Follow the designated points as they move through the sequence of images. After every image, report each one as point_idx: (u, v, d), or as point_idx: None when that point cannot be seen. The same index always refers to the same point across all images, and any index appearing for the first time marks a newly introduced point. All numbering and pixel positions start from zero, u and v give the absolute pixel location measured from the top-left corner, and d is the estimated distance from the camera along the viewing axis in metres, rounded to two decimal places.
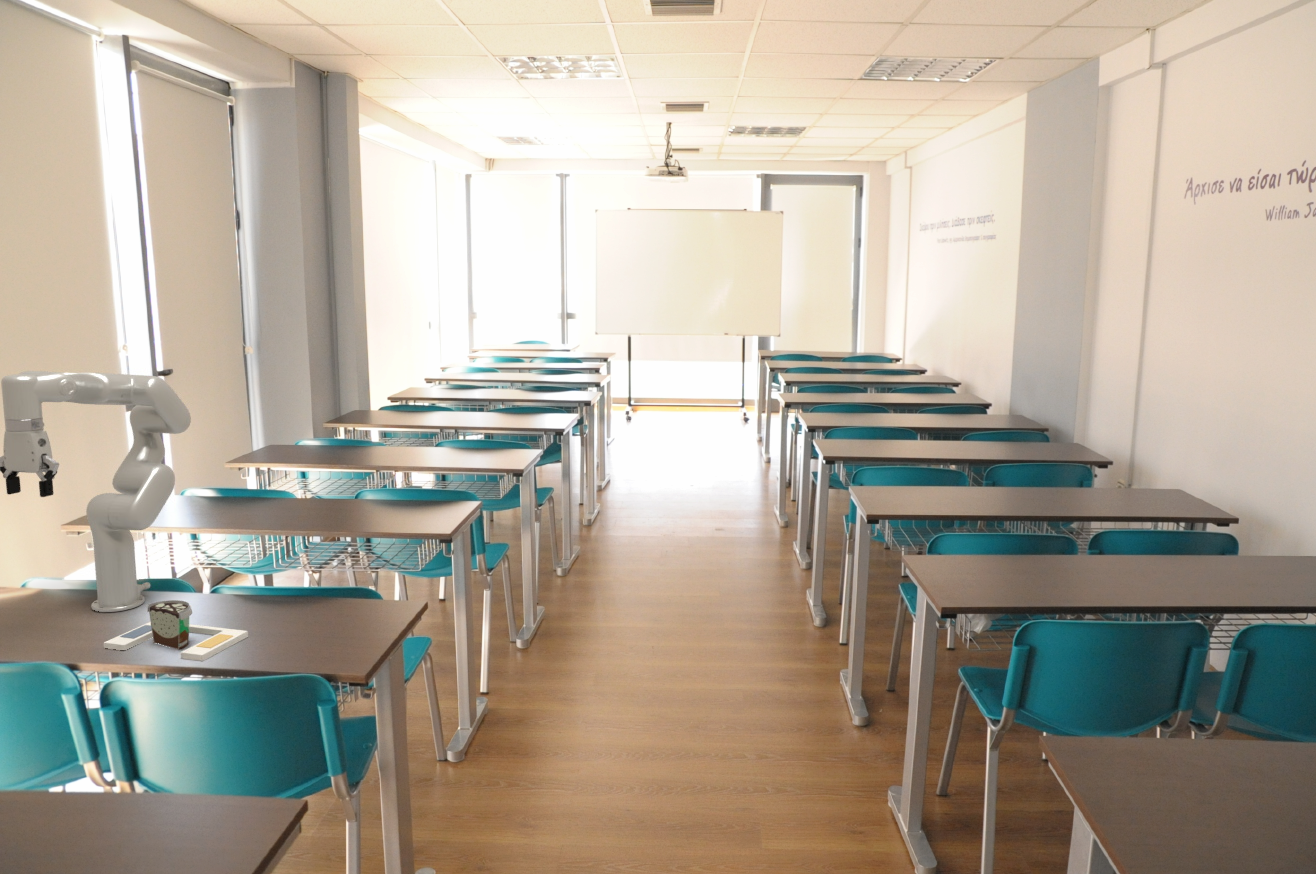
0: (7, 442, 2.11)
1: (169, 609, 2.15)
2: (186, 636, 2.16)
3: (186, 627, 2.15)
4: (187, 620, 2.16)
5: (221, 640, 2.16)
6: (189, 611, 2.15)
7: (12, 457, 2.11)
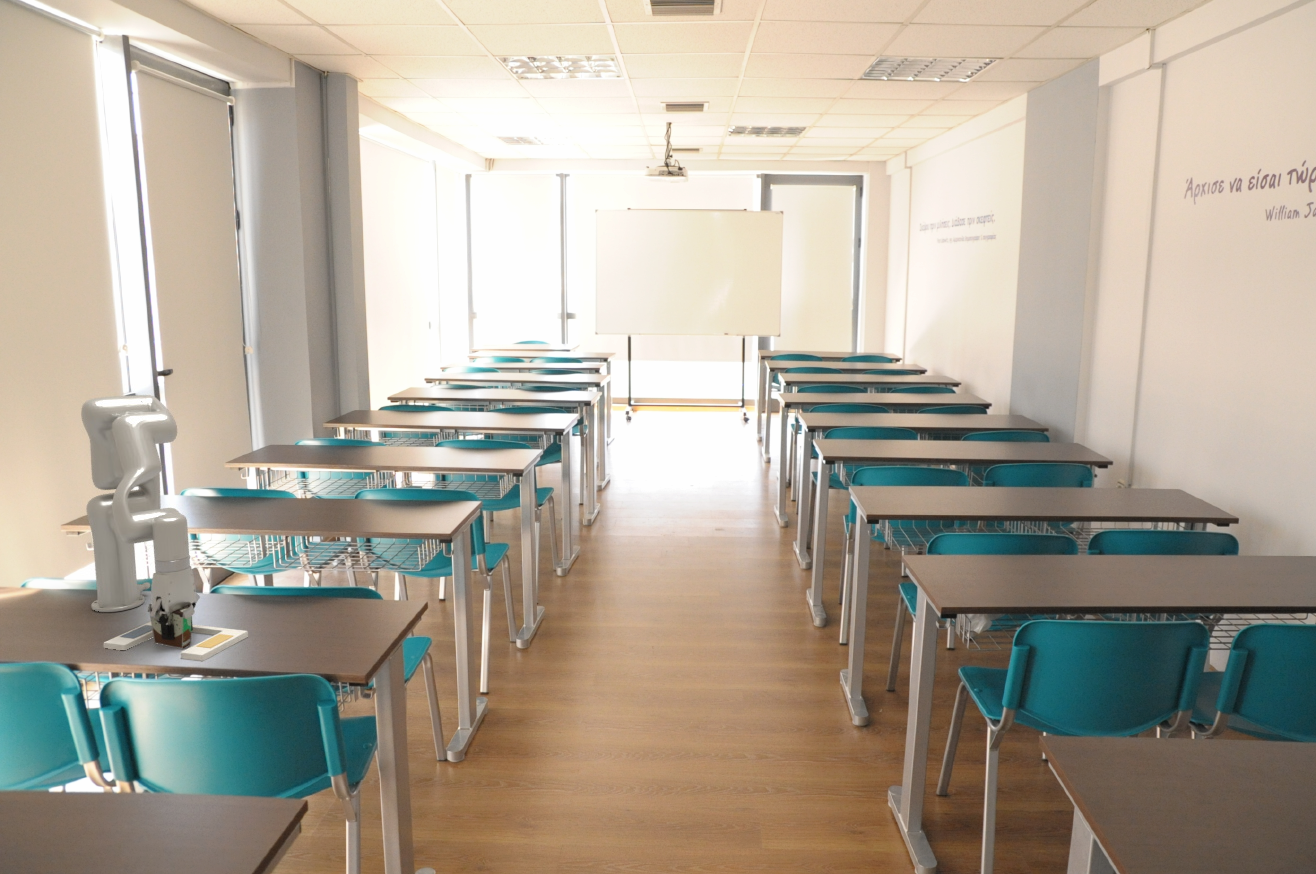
0: (172, 583, 2.13)
1: None
2: (189, 635, 2.17)
3: (189, 626, 2.16)
4: (190, 619, 2.16)
5: (221, 640, 2.16)
6: (192, 610, 2.16)
7: (178, 597, 2.14)
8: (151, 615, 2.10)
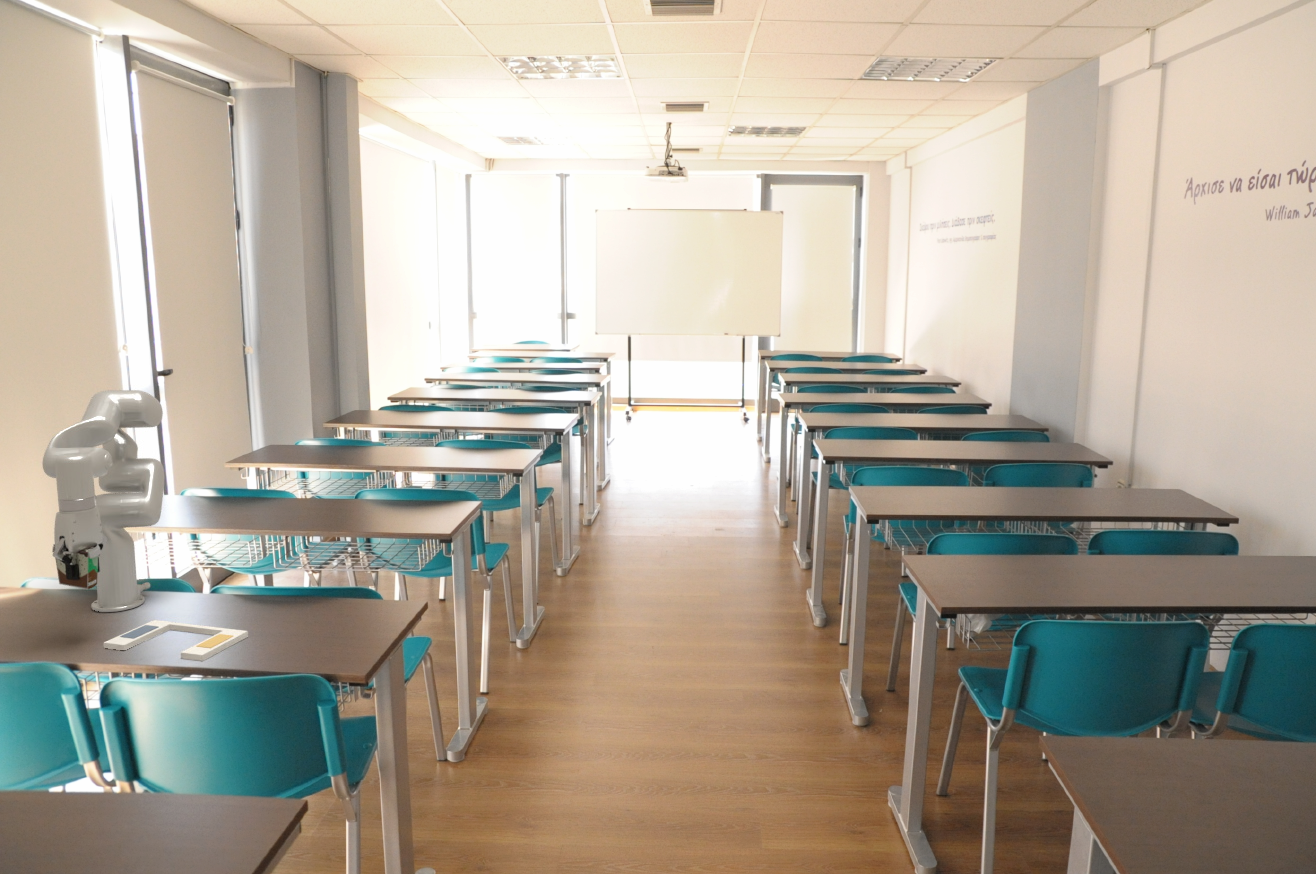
0: (76, 523, 2.10)
1: None
2: (95, 575, 2.14)
3: (95, 566, 2.14)
4: (96, 559, 2.14)
5: (221, 640, 2.16)
6: (98, 550, 2.14)
7: (83, 537, 2.12)
8: (53, 554, 2.07)
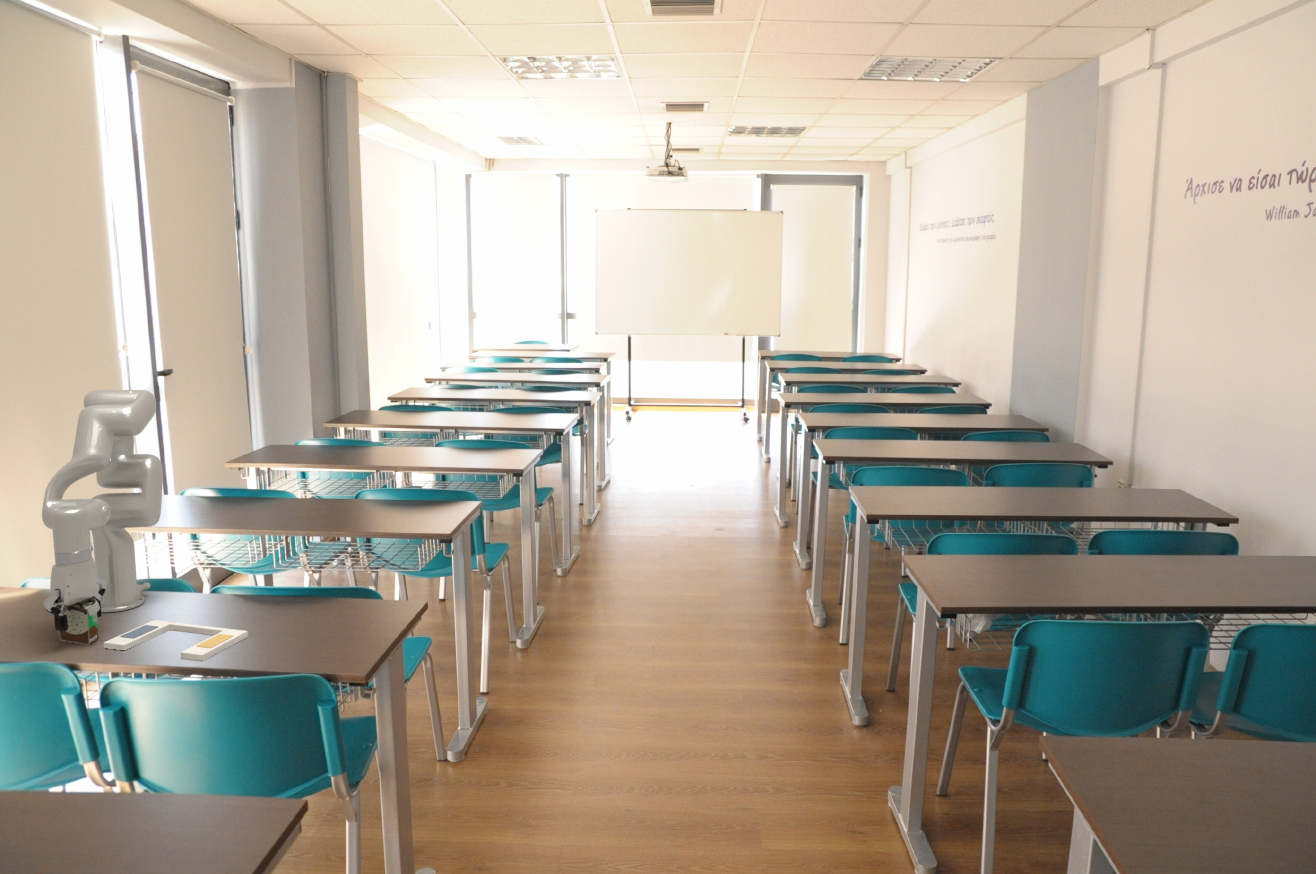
0: (72, 576, 2.12)
1: (75, 606, 2.16)
2: (95, 631, 2.17)
3: (95, 622, 2.17)
4: (95, 615, 2.17)
5: (221, 640, 2.16)
6: (97, 606, 2.16)
7: (78, 589, 2.14)
8: (44, 602, 2.08)
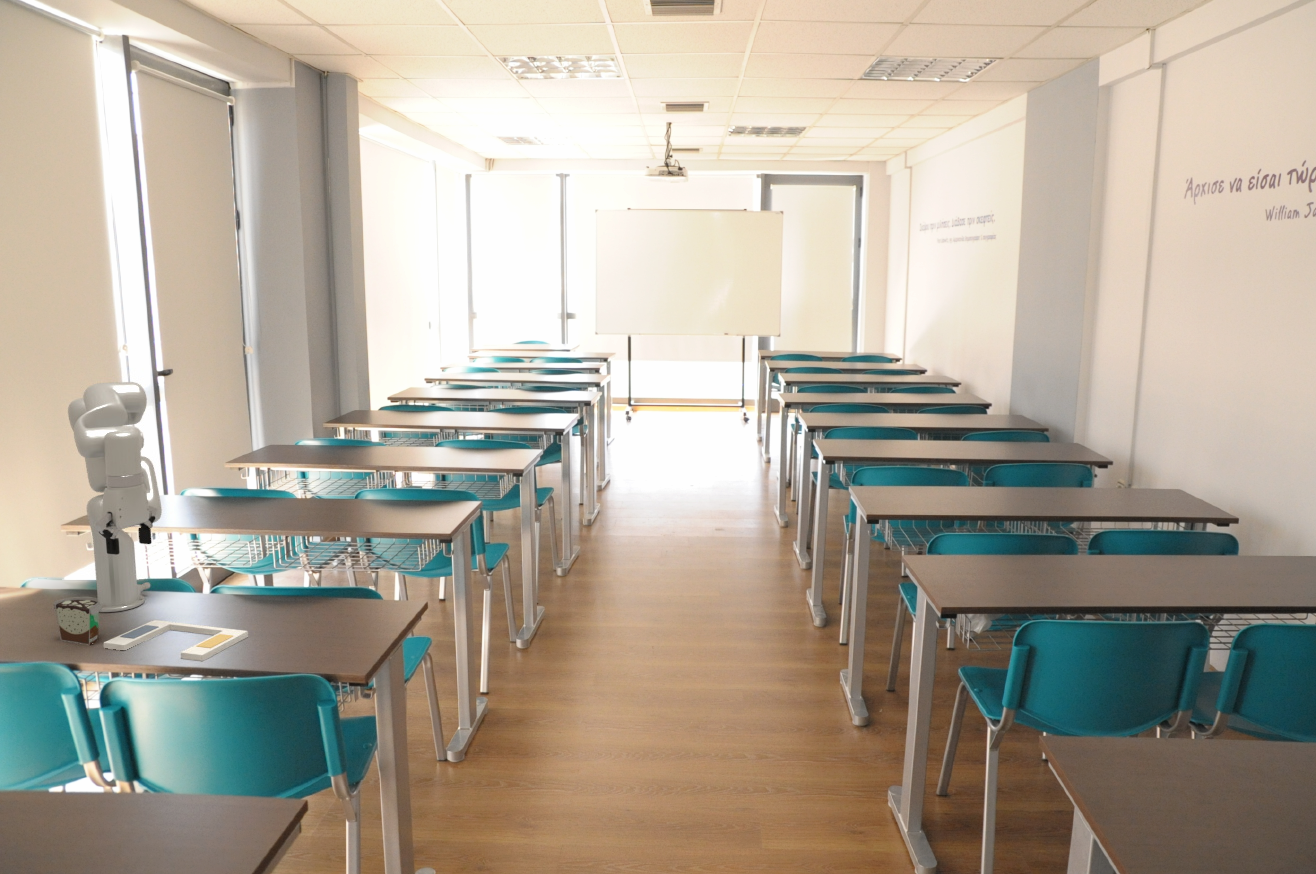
0: (124, 499, 2.12)
1: (77, 605, 2.16)
2: (96, 631, 2.18)
3: (96, 622, 2.17)
4: (97, 615, 2.17)
5: (221, 640, 2.16)
6: (99, 606, 2.17)
7: (129, 513, 2.14)
8: (96, 524, 2.08)
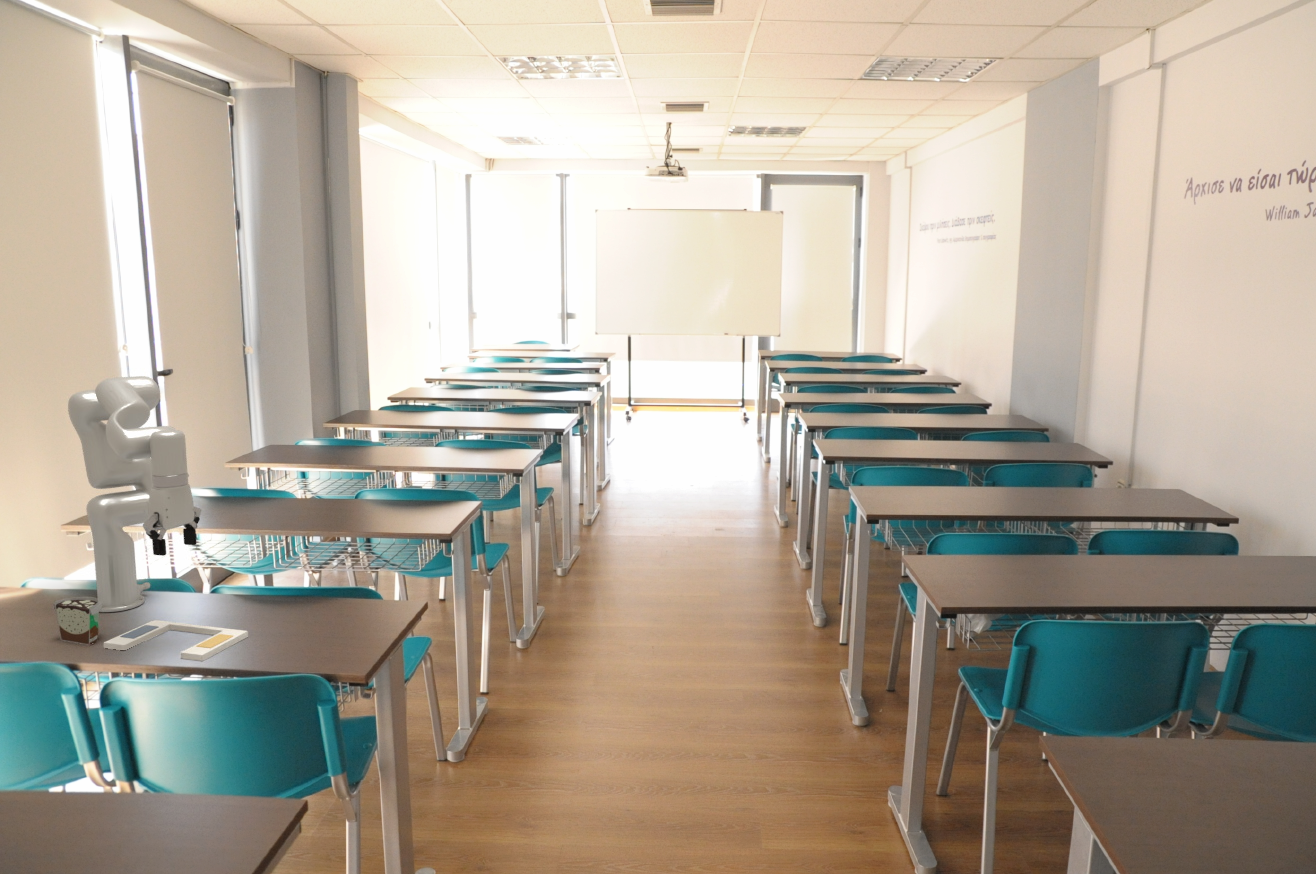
0: (170, 499, 2.09)
1: (77, 605, 2.16)
2: (96, 631, 2.18)
3: (96, 622, 2.17)
4: (97, 615, 2.17)
5: (221, 640, 2.16)
6: (99, 606, 2.17)
7: (176, 513, 2.11)
8: (144, 524, 2.05)
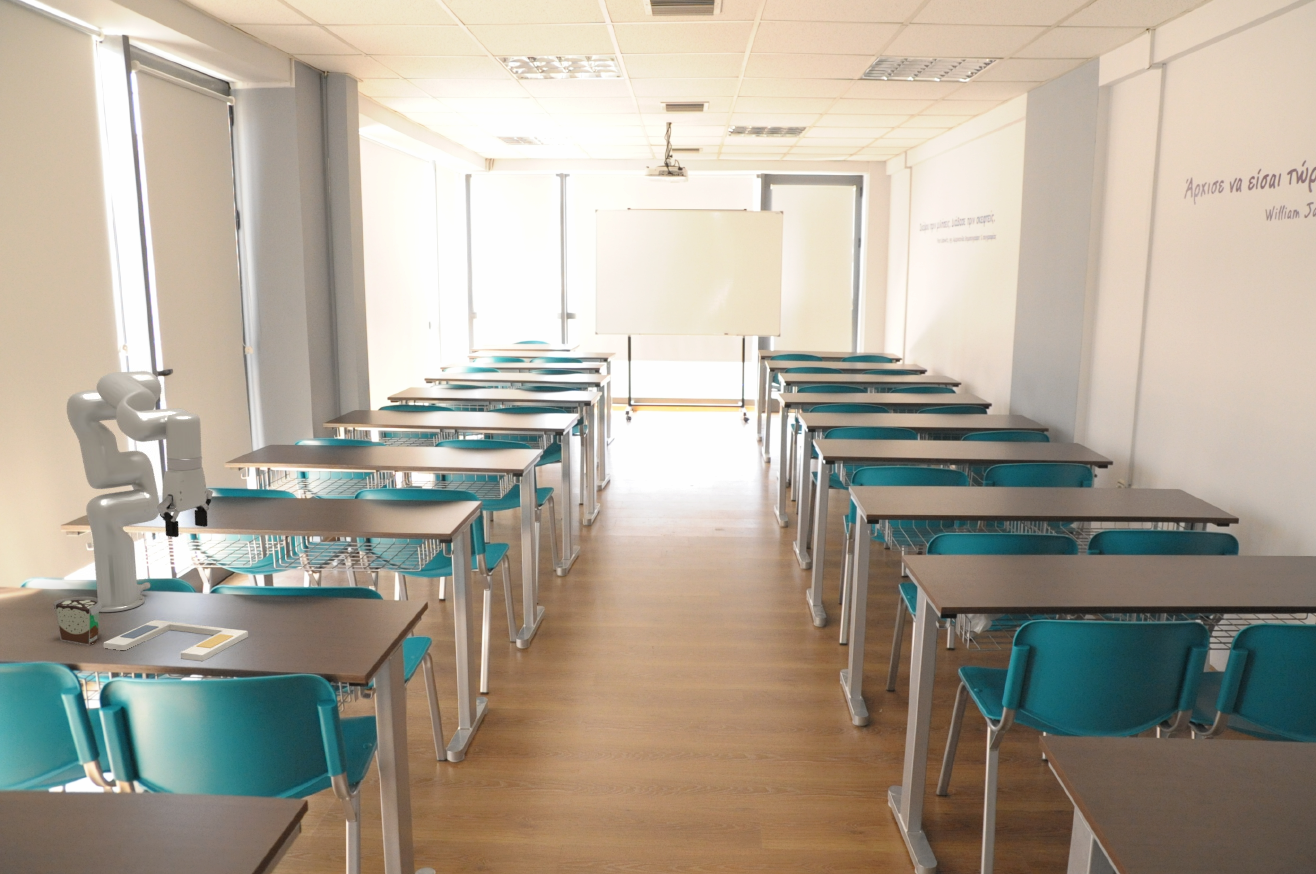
0: (184, 482, 2.12)
1: (77, 605, 2.16)
2: (96, 631, 2.18)
3: (96, 622, 2.17)
4: (97, 615, 2.17)
5: (221, 640, 2.16)
6: (99, 606, 2.17)
7: (189, 496, 2.14)
8: (158, 506, 2.08)
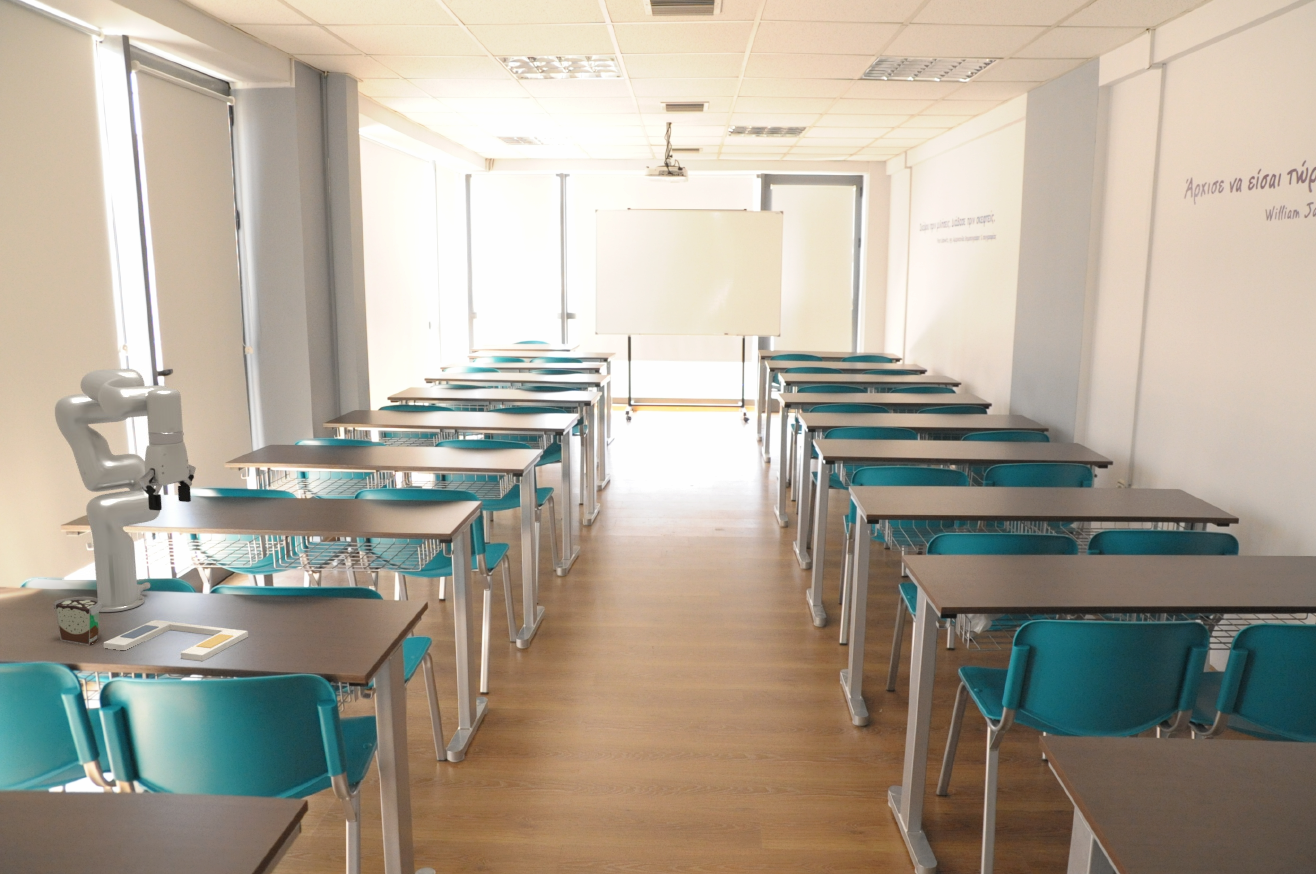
0: (166, 456, 2.15)
1: (77, 605, 2.16)
2: (96, 631, 2.18)
3: (96, 622, 2.17)
4: (97, 615, 2.17)
5: (221, 640, 2.16)
6: (99, 606, 2.17)
7: (171, 470, 2.17)
8: (140, 479, 2.11)
